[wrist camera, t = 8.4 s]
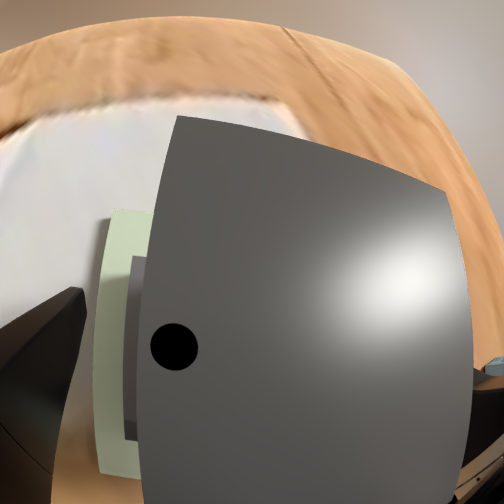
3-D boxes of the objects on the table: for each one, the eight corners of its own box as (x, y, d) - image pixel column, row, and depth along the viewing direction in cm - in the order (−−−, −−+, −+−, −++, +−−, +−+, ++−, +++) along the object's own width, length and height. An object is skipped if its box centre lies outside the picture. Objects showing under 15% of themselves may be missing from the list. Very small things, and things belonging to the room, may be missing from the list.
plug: (241, 399, 13) (451, 499, 2) (168, 397, 12) (165, 589, 1) (244, 295, 16) (427, 145, 4) (172, 288, 15) (193, 68, 3)
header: (293, 466, 14) (324, 489, 10) (104, 465, 11) (87, 495, 7) (292, 237, 19) (321, 209, 15) (116, 217, 16) (104, 181, 12)
